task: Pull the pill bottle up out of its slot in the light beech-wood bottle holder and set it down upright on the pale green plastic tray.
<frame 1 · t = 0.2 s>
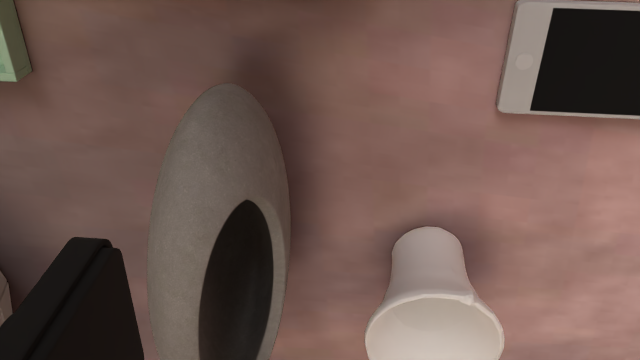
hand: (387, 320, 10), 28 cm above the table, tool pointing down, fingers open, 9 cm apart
planter: (257, 161, 42), on the table
cup: (423, 247, 44), on the table
smartphone: (629, 59, 35), on the table
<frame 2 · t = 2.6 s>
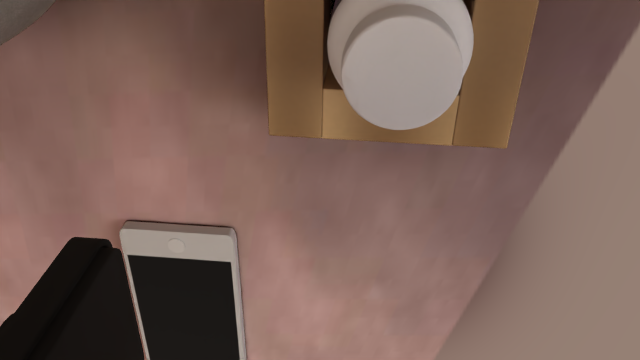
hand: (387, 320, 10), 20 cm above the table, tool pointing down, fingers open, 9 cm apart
smartphone: (193, 312, 39), on the table
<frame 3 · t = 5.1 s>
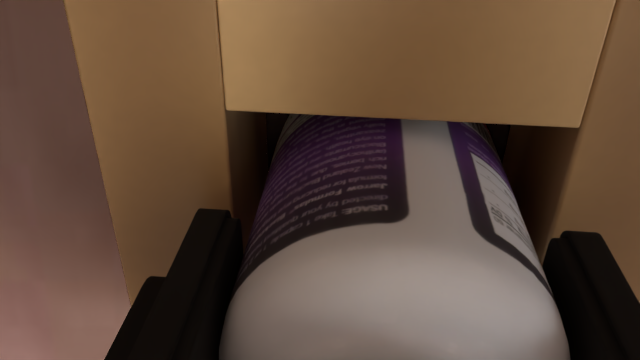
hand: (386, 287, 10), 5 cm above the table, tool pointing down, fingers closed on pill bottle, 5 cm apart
pill bottle: (382, 154, 15), resting in holder, touching gripper
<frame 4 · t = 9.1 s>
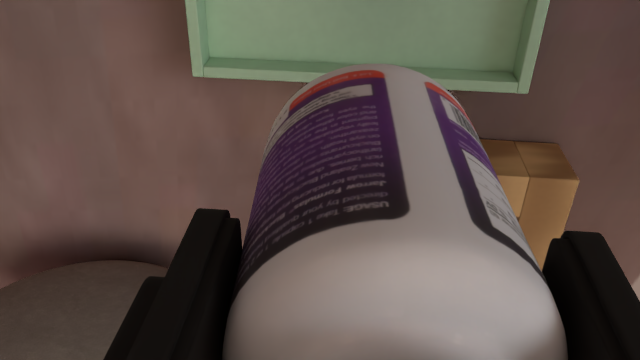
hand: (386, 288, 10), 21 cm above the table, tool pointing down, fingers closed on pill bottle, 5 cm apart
planter: (132, 267, 40), on the table
holder: (437, 268, 37), on the table
pill bottle: (369, 153, 15), point 16 cm above the table, touching gripper
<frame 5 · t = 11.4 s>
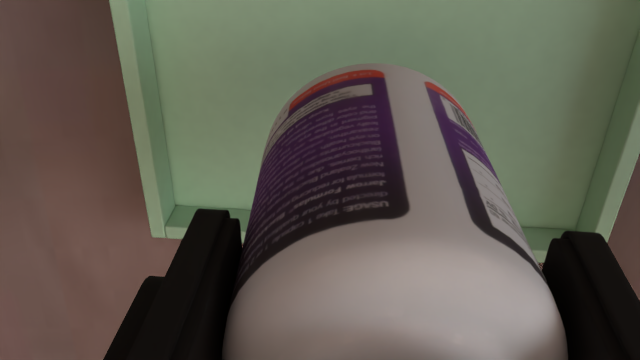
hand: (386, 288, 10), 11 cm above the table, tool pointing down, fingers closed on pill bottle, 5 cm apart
tray: (381, 70, 20), on the table
pill bottle: (369, 153, 15), point 6 cm above the table, touching gripper
when the fingers open (6 cm above the table, at t = 13.2 s): pill bottle stays where it is, resting on tray.
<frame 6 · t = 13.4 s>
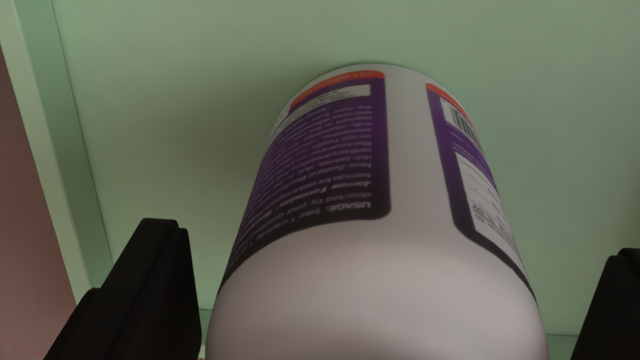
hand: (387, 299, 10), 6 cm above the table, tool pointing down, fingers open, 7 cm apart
tray: (382, 146, 15), on the table
pill bottle: (372, 153, 15), resting on tray
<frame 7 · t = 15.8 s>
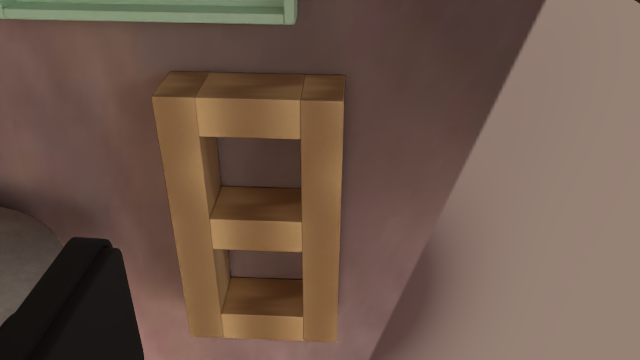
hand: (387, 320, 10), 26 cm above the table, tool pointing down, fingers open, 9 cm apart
holder: (264, 201, 40), on the table
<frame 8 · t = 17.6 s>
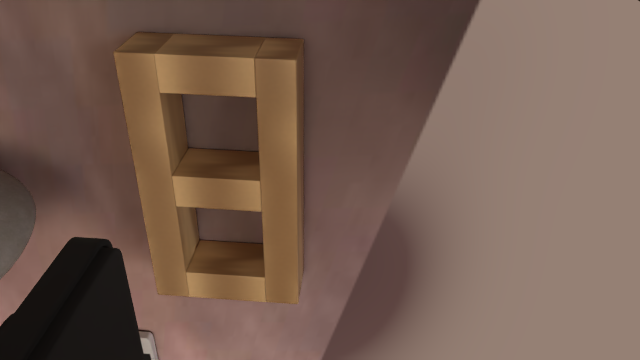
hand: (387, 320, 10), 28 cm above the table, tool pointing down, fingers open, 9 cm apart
holder: (229, 164, 42), on the table
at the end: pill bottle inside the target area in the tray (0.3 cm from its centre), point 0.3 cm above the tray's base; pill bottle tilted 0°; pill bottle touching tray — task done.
